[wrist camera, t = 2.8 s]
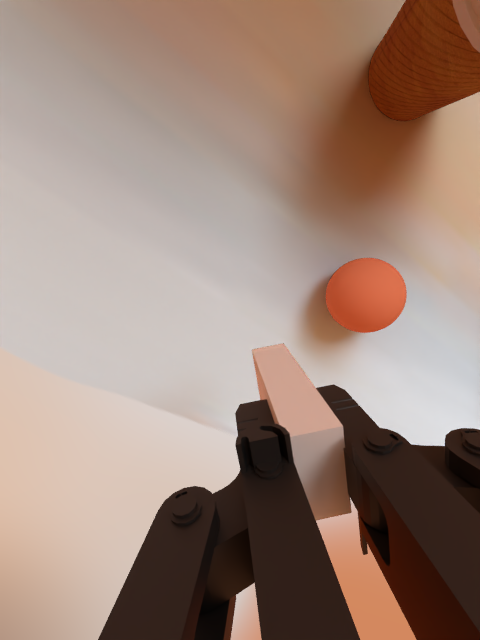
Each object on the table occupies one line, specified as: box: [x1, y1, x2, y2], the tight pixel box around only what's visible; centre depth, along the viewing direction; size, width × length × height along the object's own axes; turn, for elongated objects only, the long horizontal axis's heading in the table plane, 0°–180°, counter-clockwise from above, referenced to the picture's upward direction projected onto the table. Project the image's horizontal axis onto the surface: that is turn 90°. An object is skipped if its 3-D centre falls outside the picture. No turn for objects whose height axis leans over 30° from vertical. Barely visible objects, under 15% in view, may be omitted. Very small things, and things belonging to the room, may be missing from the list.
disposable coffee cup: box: [369, 0, 480, 121], centre depth 17 cm, size 10×10×12 cm
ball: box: [326, 258, 406, 333], centre depth 24 cm, size 6×6×6 cm
